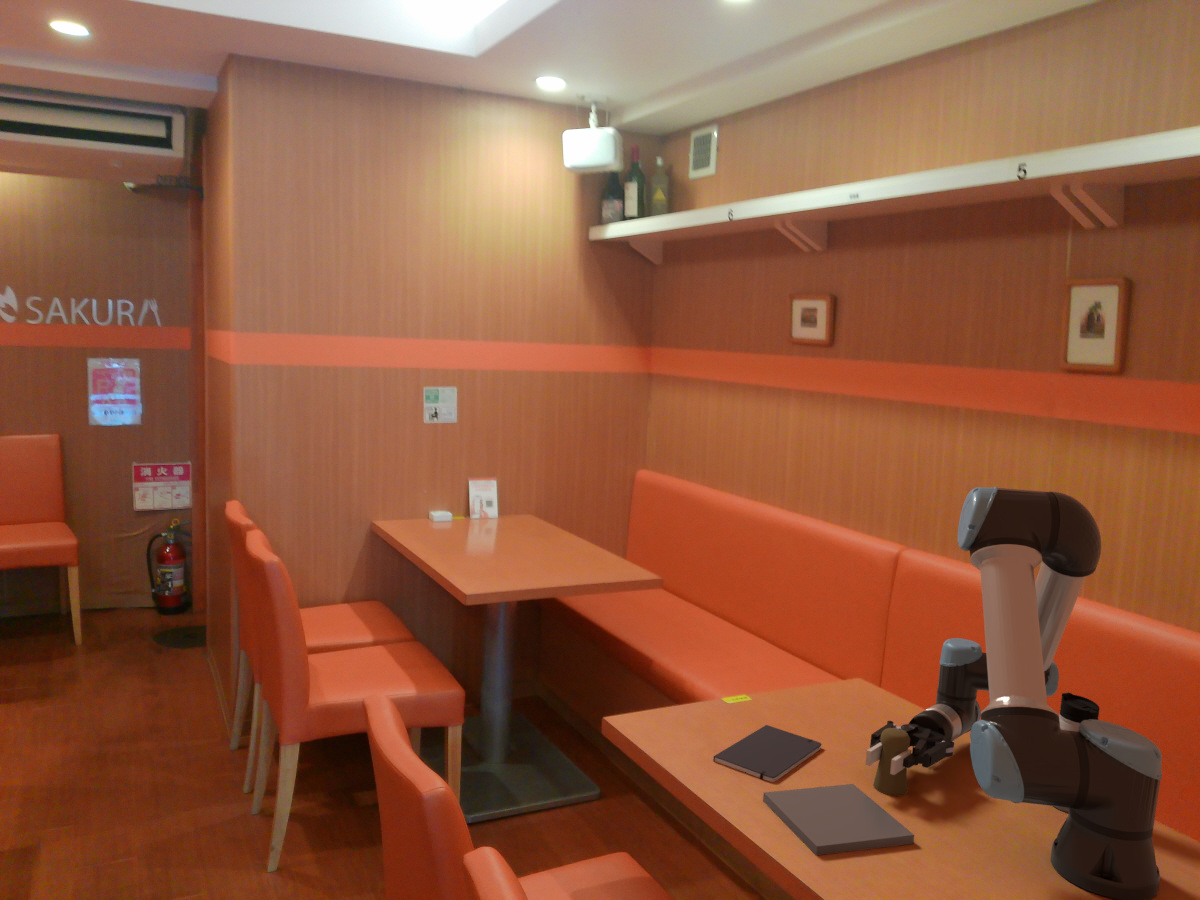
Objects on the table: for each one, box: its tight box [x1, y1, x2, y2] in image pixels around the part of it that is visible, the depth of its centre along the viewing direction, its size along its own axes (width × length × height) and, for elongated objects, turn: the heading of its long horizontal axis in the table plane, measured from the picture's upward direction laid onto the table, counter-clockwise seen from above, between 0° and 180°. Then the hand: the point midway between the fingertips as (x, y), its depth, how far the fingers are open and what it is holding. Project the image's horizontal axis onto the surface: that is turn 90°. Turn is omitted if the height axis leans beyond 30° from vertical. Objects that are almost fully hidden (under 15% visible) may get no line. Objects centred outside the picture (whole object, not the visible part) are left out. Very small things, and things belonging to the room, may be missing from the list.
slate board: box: [762, 783, 915, 856], centre depth 160 cm, size 18×18×2 cm
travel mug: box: [1053, 692, 1100, 814], centre depth 171 cm, size 6×7×20 cm
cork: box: [872, 728, 911, 797], centre depth 174 cm, size 6×6×11 cm
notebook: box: [713, 724, 822, 783], centre depth 185 cm, size 13×2×21 cm
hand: (880, 762), depth 169 cm, fingers closed on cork, 4 cm apart
